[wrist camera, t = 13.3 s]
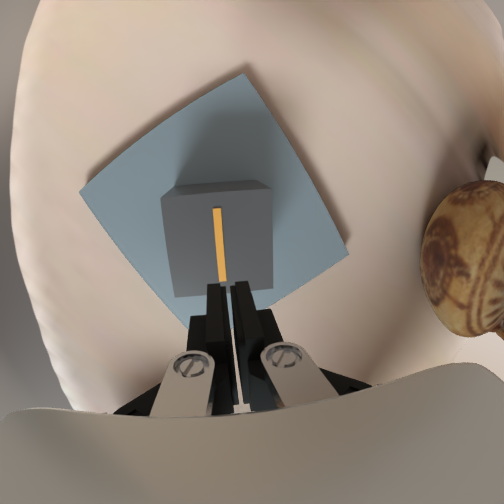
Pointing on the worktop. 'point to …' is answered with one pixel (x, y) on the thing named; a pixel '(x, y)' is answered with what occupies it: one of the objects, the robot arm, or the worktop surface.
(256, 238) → the dark grey cube
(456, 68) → the worktop surface
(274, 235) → the base
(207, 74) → the worktop surface
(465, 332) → the clay pot
